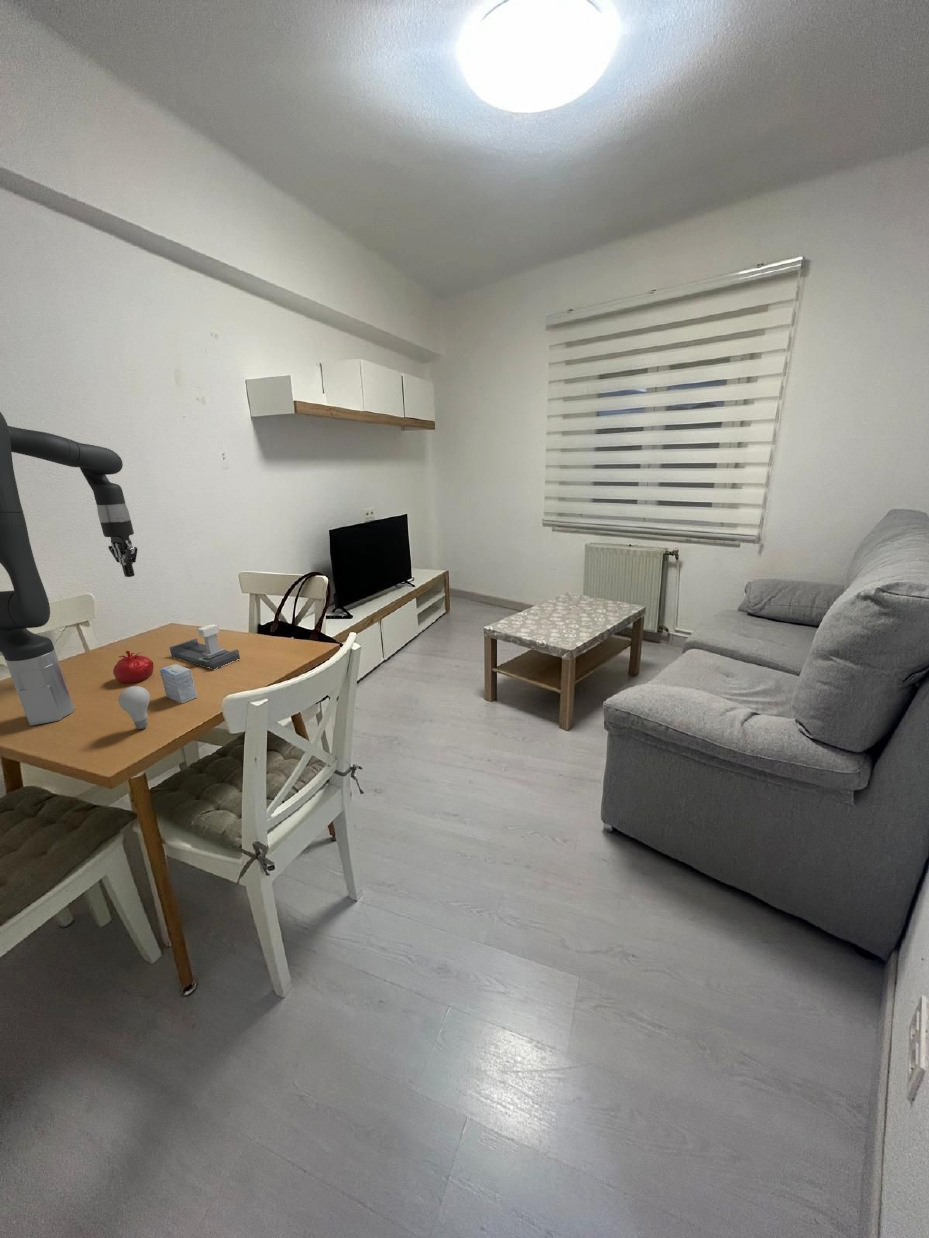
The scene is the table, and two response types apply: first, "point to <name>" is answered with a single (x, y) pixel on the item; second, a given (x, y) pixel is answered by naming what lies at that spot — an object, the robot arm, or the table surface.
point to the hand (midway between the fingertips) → (129, 576)
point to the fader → (211, 641)
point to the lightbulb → (136, 704)
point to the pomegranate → (133, 668)
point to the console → (193, 651)
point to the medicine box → (178, 683)
